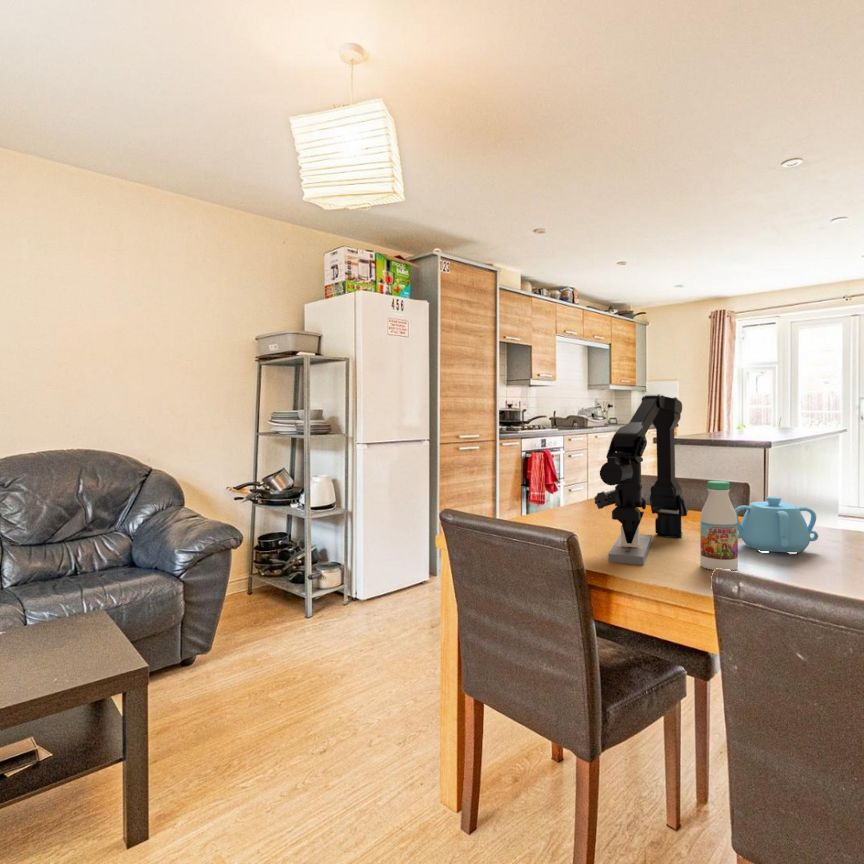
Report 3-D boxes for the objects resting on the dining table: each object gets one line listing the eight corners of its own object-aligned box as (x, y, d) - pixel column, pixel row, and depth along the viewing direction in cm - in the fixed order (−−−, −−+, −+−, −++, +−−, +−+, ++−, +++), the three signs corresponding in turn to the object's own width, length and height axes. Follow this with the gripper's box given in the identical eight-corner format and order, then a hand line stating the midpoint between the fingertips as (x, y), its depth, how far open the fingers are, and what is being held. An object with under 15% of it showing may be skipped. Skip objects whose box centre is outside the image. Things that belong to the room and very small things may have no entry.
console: (651, 542, 153) (651, 534, 153) (643, 565, 132) (643, 556, 132) (621, 539, 157) (621, 532, 157) (608, 561, 135) (608, 553, 135)
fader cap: (639, 544, 142) (638, 525, 142) (637, 547, 139) (637, 527, 139) (622, 543, 144) (622, 524, 144) (621, 546, 141) (620, 526, 141)
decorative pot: (827, 553, 138) (828, 499, 137) (781, 561, 132) (782, 504, 131) (767, 539, 153) (767, 490, 152) (723, 546, 147) (723, 495, 147)
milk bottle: (693, 563, 132) (693, 480, 131) (724, 562, 133) (724, 478, 132) (712, 573, 124) (712, 484, 123) (745, 571, 125) (745, 483, 124)
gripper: (602, 475, 153) (603, 531, 153) (589, 484, 136) (590, 547, 137) (645, 476, 148) (646, 534, 148) (638, 486, 131) (639, 551, 132)
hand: (630, 541), depth 141 cm, fingers closed on fader cap, 3 cm apart
